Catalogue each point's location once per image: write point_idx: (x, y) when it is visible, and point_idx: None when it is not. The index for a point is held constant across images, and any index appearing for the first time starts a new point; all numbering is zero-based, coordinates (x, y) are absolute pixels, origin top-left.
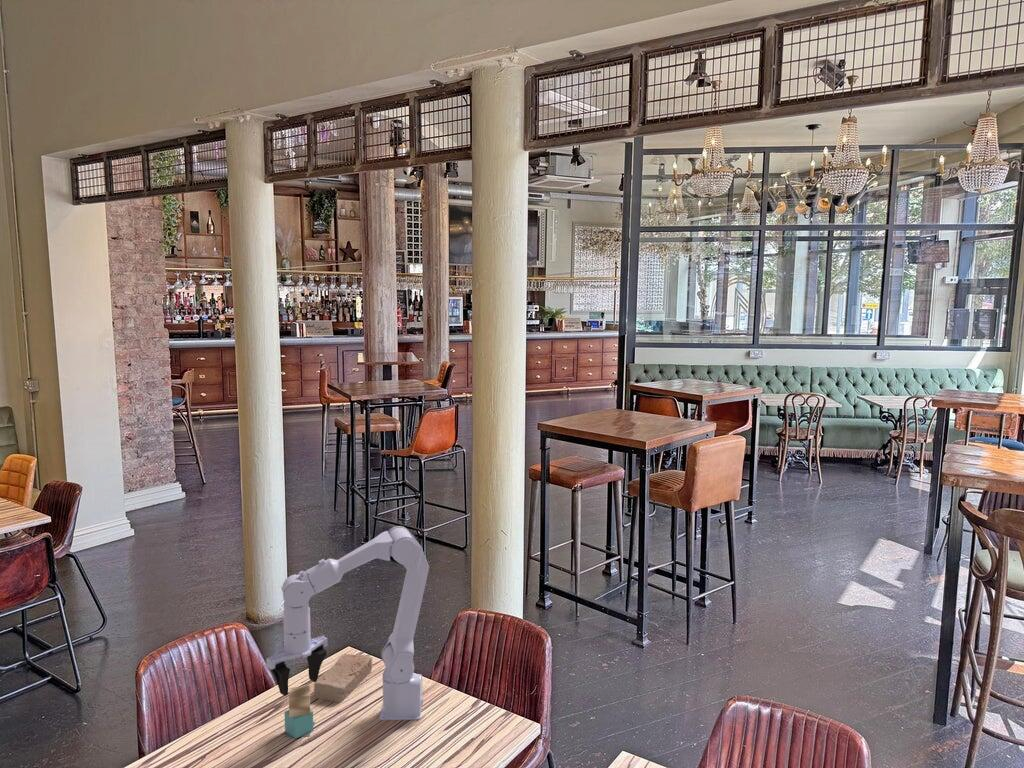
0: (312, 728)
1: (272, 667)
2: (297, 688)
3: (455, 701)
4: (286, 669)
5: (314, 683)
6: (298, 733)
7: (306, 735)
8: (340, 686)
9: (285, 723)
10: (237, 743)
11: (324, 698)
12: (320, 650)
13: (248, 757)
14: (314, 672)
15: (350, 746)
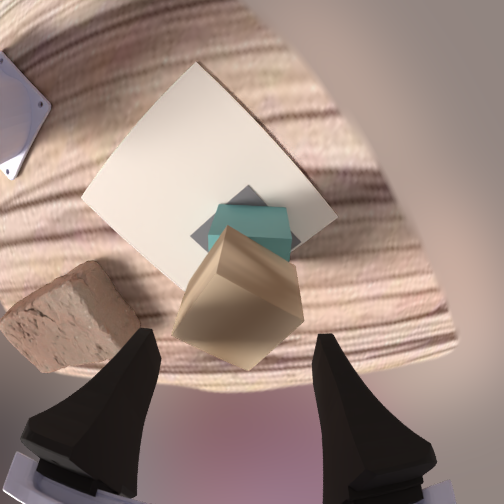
0: (220, 206)
1: (448, 491)
2: (226, 350)
3: None
4: (397, 471)
5: None
6: (274, 212)
7: (251, 195)
8: (71, 294)
9: None
10: (380, 304)
11: (121, 303)
12: (56, 464)
13: (409, 239)
14: (135, 370)
15: (183, 42)
